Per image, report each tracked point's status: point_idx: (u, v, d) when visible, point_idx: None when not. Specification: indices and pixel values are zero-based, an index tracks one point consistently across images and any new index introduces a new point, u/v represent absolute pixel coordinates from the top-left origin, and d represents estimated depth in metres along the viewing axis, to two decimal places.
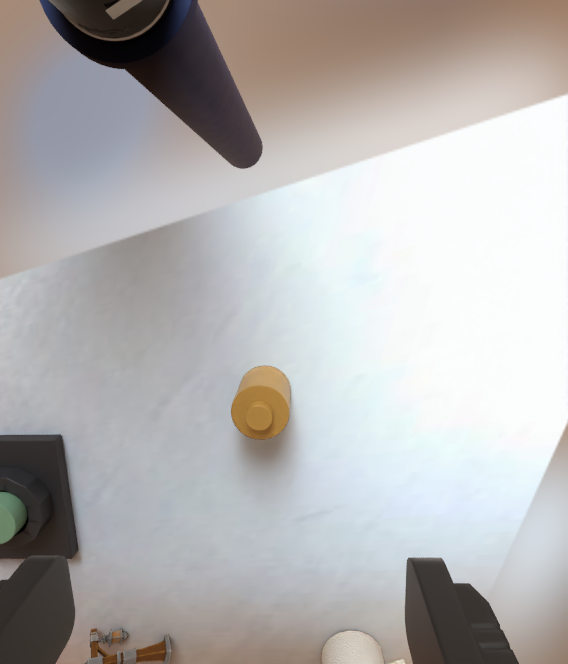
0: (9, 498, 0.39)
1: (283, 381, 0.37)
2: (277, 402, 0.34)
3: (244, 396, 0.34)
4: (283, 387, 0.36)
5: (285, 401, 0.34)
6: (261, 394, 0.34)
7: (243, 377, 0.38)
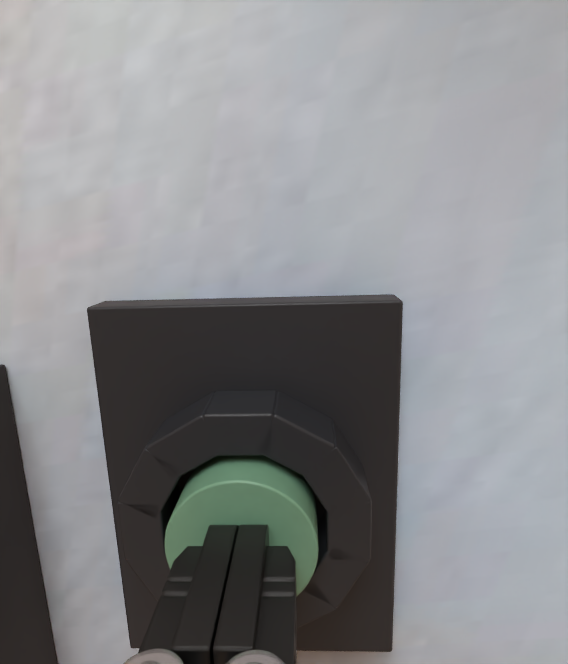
0: (282, 469, 0.12)
1: None
2: None
3: None
4: None
5: None
6: None
7: None
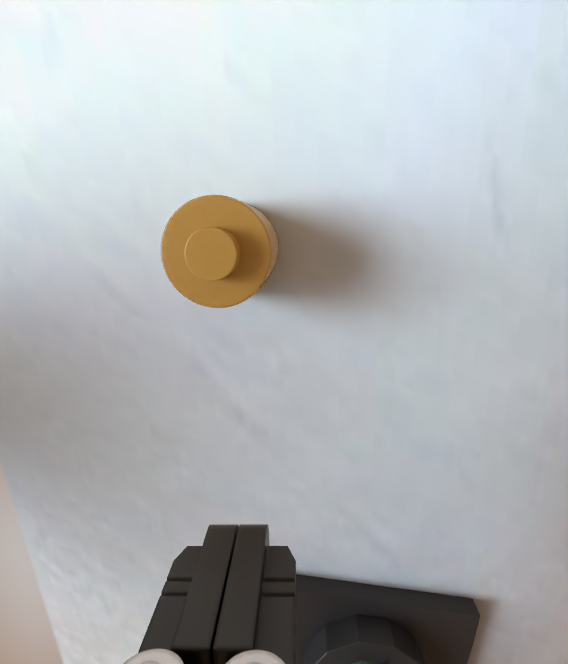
0: None
1: None
2: (197, 216, 0.18)
3: (180, 276, 0.18)
4: None
5: (197, 199, 0.17)
6: (178, 244, 0.18)
7: None
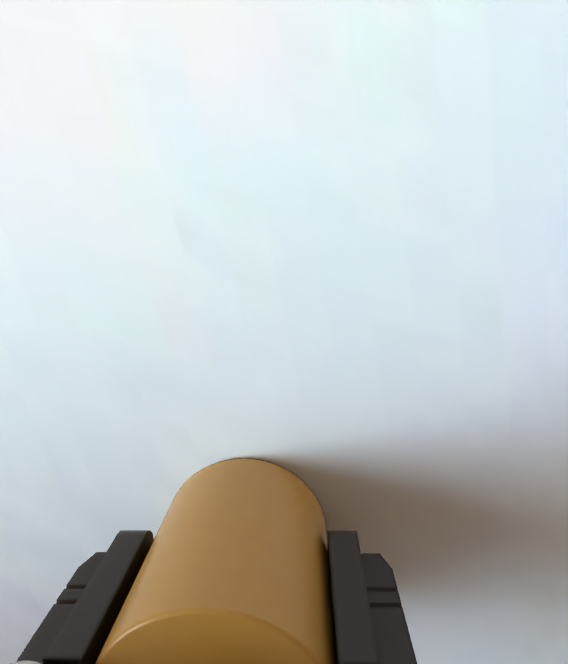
0: None
1: (172, 519, 0.10)
2: (157, 654, 0.07)
3: None
4: (158, 555, 0.09)
5: (149, 622, 0.07)
6: None
7: None
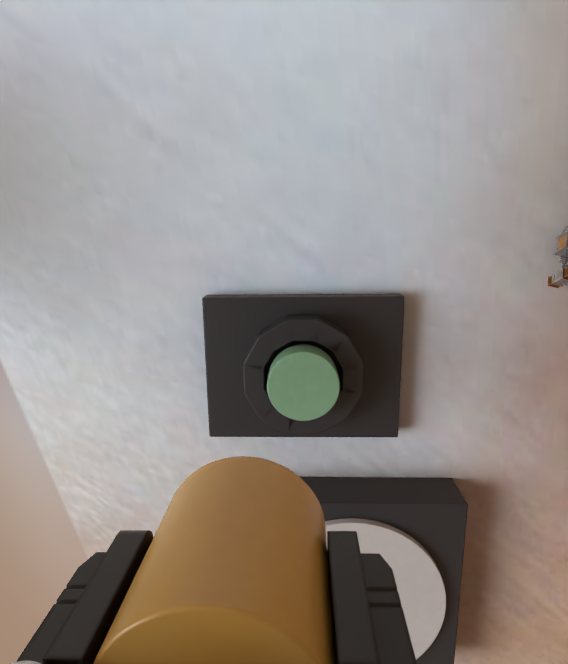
0: (273, 362, 0.26)
1: (171, 516, 0.10)
2: (156, 651, 0.07)
3: None
4: (157, 552, 0.09)
5: (149, 619, 0.07)
6: None
7: None
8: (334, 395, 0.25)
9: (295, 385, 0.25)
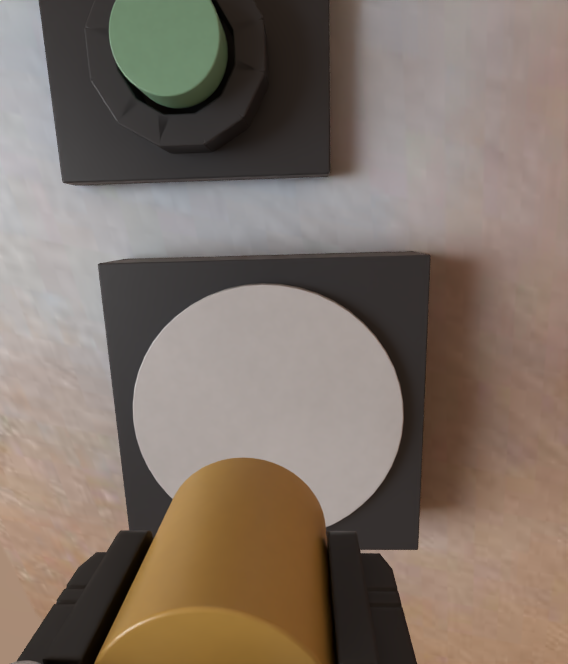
0: None
1: (171, 518, 0.10)
2: (156, 653, 0.07)
3: None
4: (157, 553, 0.09)
5: (149, 620, 0.07)
6: None
7: None
8: (212, 47, 0.16)
9: (151, 31, 0.16)
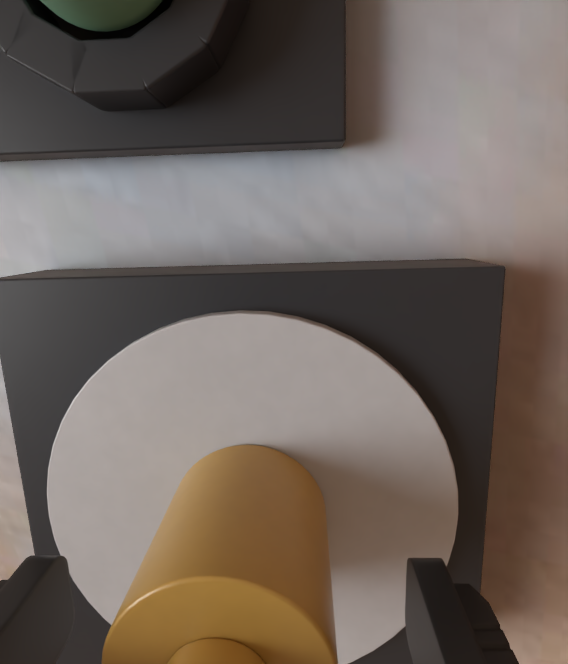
0: None
1: (179, 500, 0.11)
2: (168, 620, 0.08)
3: None
4: (167, 532, 0.10)
5: (160, 589, 0.08)
6: None
7: None
8: None
9: None
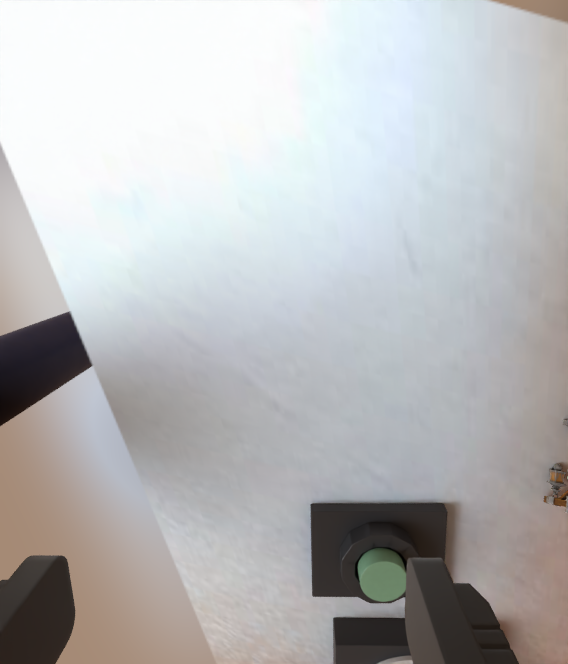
0: (362, 561, 0.39)
1: None
2: None
3: None
4: None
5: None
6: None
7: None
8: (404, 586, 0.38)
9: (378, 581, 0.38)
